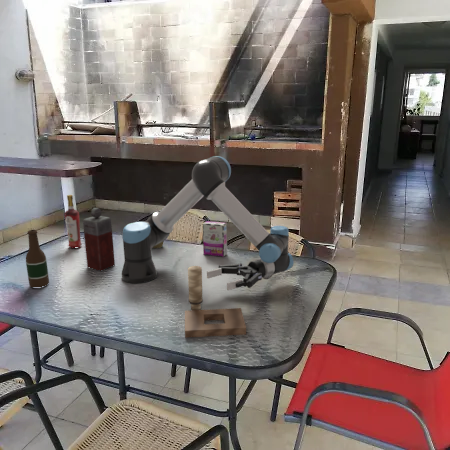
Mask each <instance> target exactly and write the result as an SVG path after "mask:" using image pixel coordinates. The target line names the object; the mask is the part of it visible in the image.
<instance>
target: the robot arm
mask: <svg viewBox="0 0 450 450" xmlns="http://www.w3.org/2000/svg"><path fill="white" fill-rule="evenodd" d="M231 167H232V166H231V165H230V162H229V161H228V160H227V159H226V158H225V157H223V156H220V155H214V156H210V157H208V158H206V159H202V160H199V161H198V162H197V163H196V164H195V165H194V166H193V169H192V170H191V180H190V181H188V183H187V184H185V185H184V186H183V188H182V189H181V190H180V191H178V193H177V194H176V195H175V196H174V197H173V198H172V199H171V200H170V201H169V202H168V203H166V205H165V206H164V207H163V208H161V210H160V211H155V212H154V213H152V214H151V215H150V216H149V217H148V218H147V219H146V220H144V221H134V222H131V223H128V224H126V225H125V226H124V227H123V229H122V242H123V255H124V256H123V257H124V262H123V263H124V264H123V265H122V269H121V279H122V280H123V282H125V283H130V284H142V283H147V282H151V281H153V280H156V278H157V275H158V273H157V270H158V269H157V268H156V265H155V264H154V263H155V262H154V261H153V256H152V255H153V254H152V249H153V248H152V247H154V246H156V245H157V244H159V243H161V242H163V241H166V240H167V239H168V237H169V236H170V234H171V233H172V232H173V231H174V225H175V224H176V223H178V221H180V220H181V219H182V218H183V217H184V216H185V215H186V214H187V213H188V212H189V211H190V210H191V209H192V208H193V207H194V206H195V205H196V204H197V203H198V202H199V201H200V200H201V199H203V198H205V199H206V200H208V201H209V200H210V201H212V202H213V204H214V205H216V206H215V207H217V208H218V209H219V210H220V211H221V212H222V213H223V214H224V215H225V216H226V218H228V219H229V221H230V222H231V223H232V224H233V225H234V226H235V227H236V228H237V229H238V230H239V231H240V232H241V233H242V234H243V235H244V236H245V238H246V239H247V240H248V241H249V242H250V243H251V244H252V245H253V246H254V247H255V248H256V249H257V251H258V254H259V258H258V259H255V260H251V261H249V263H248V264H247V265H243V263H236V264H235V263H234V264H233V263H232V264H221V265H220V264H219V265H218V266H217V267H218V268H216V269H211V270H208V271H206V279H211V278H215V277H219V276H222V274H223V275H226V274H227V275H237V276H242V277H243V278H240V279H236V280H233V281H229V282H226V291H232V290H236V289H238V288H241V287H247V288H248V289H251V288H252V287H253V286H254V285H255V284H256V283H258V282H259V281H261V280H262V279H264V278H263V277H267V276H269V275H271V276H273V275H276V274H279V273H284V272H286V271H289V270H291V268H293V267H294V262H295V261H294V259H293V255H292V254H291V253H290V252H289V237H290V235H289V234H290V233H289V232H290V231H289V228H288V227H287V226H285V225H274V226H271V227H270V231H268V230H266V228H265V227H264V225H262V224H261V223H260V221H258V220H257V219H256V218H255V217H254V215H253V214H252V213H251V212H250V211H249V210H248V209H247V208H246V207H245V206H244V205H243V204H242V203H241V202H240V200H239V199H237V197H235V195H234V194H233V193H232V192H231V191H230V190H229V189H228V188H227V186H226V182H227V181H228V180H229V179H230V177H231V173H232V168H231ZM163 243H164V242H163Z"/></svg>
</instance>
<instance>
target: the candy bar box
mask: <svg viewBox="0 0 450 450" xmlns="http://www.w3.org/2000/svg"><path fill="white" fill-rule="evenodd" d="M227 224H228V223H227V222H219V221H218V222H217V221H205V222H203V223H202V242H203V243H202V245H203V246H202V247H203V249H202V250H203V251H202V252H203V255H204V256H212V257H213V256H214V257H221V258H225V257H226V255H228V236H227V235H228V228H227V227H228V226H227Z"/></svg>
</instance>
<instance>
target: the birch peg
mask: <svg viewBox="0 0 450 450" xmlns="http://www.w3.org/2000/svg"><path fill="white" fill-rule="evenodd" d="M202 271H203V268H202V266H200V265H192V266H189V267H188V268H187V277H188V278H187V279H188V281H187V283H188V285H187V286H188V287H187V288H188V304H190V310H202V306H201V305H202V303H203V302H204V299H203V272H202Z"/></svg>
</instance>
